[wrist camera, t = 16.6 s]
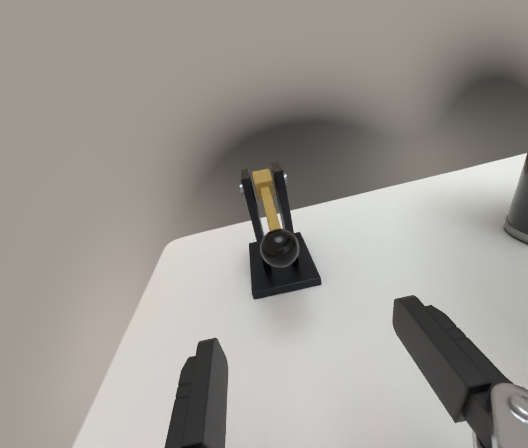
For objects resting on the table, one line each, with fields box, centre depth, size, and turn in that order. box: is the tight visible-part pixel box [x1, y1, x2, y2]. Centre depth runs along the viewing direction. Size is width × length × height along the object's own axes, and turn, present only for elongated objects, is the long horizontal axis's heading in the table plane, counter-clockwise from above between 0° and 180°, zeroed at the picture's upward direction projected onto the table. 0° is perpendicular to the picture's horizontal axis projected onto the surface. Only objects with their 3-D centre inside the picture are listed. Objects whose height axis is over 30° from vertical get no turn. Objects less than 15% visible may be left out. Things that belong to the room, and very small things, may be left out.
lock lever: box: [252, 169, 299, 268], centre depth 26 cm, size 14×4×4 cm, turn 6°
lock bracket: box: [239, 162, 321, 299], centre depth 33 cm, size 12×9×15 cm
